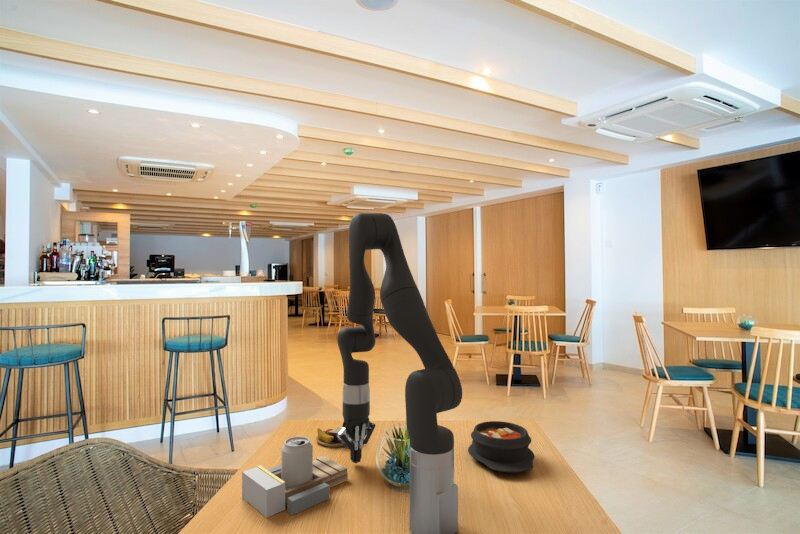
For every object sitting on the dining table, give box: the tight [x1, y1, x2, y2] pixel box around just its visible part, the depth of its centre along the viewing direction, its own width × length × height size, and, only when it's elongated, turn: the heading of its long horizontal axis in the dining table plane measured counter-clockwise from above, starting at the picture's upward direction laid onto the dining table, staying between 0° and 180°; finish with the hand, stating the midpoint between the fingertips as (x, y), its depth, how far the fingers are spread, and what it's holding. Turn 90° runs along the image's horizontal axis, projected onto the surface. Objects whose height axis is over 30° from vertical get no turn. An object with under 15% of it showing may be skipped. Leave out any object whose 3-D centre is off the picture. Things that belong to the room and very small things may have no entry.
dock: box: [241, 464, 331, 519], centre depth 103 cm, size 18×14×6 cm
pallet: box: [273, 455, 349, 507], centre depth 108 cm, size 11×18×3 cm, turn 135°
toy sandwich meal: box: [315, 425, 348, 448], centre depth 137 cm, size 12×14×5 cm
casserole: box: [467, 420, 535, 473], centre depth 124 cm, size 25×19×8 cm
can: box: [280, 435, 314, 490], centre depth 106 cm, size 8×8×12 cm
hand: (356, 461), depth 119 cm, fingers closed
